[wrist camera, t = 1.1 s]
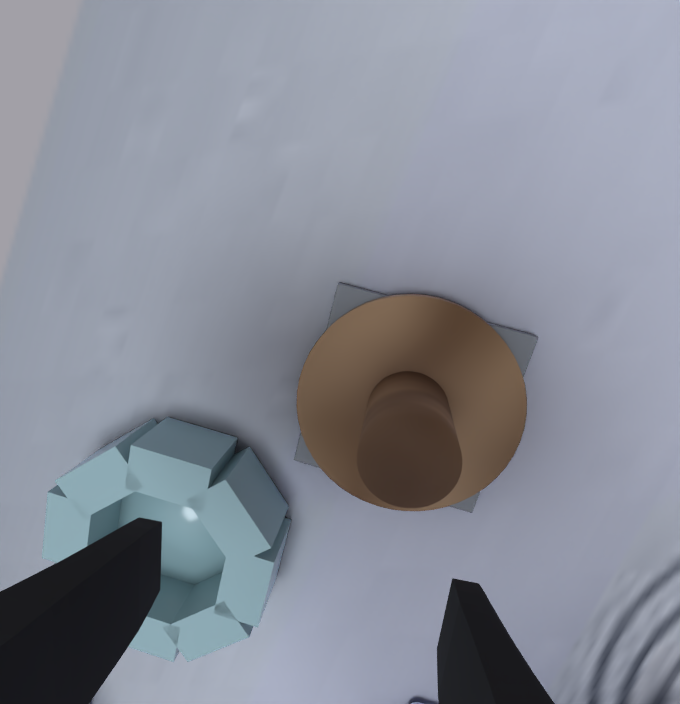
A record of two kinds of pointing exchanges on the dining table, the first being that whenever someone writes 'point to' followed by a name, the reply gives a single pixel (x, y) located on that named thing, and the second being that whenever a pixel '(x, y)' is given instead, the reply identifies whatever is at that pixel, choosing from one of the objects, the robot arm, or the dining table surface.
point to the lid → (411, 402)
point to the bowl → (181, 529)
